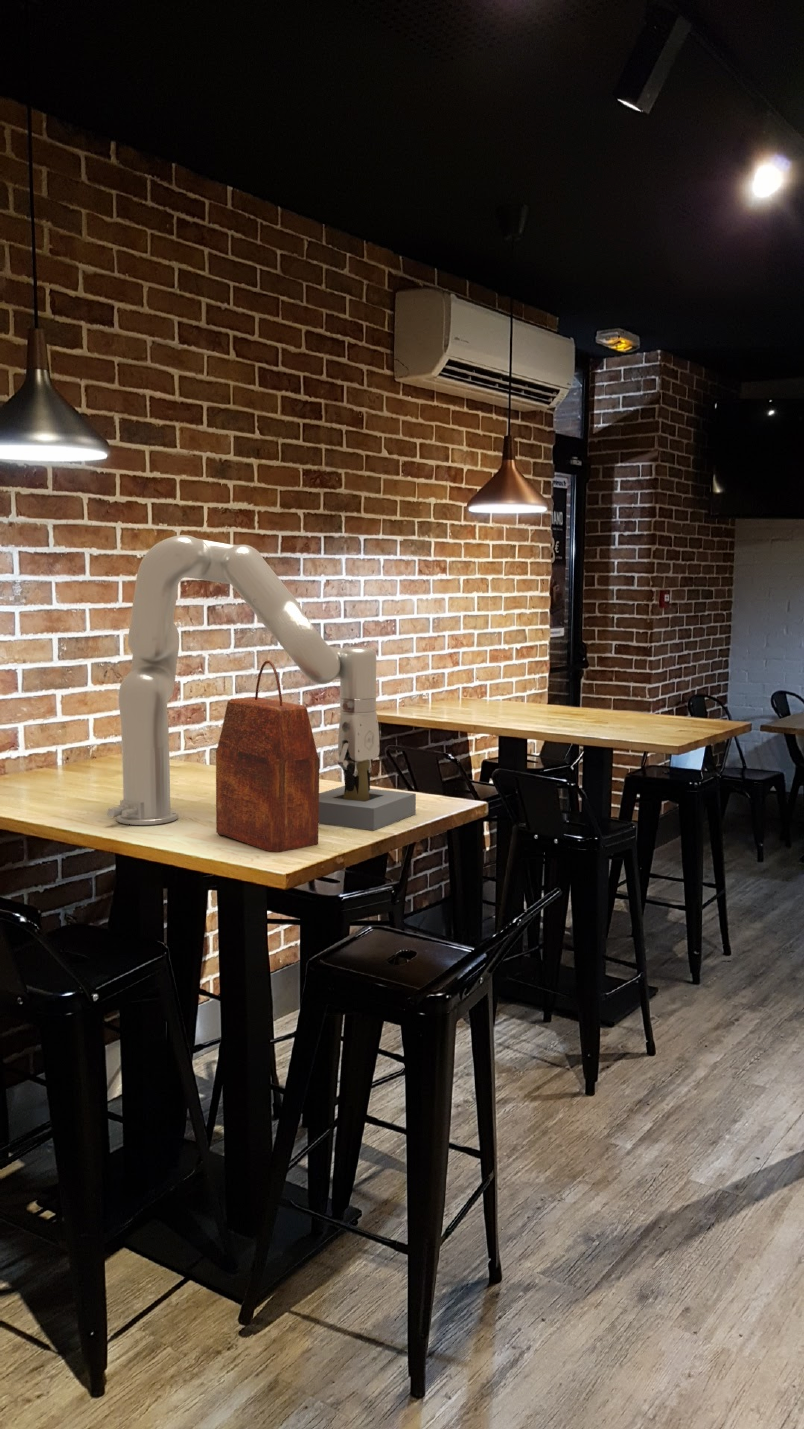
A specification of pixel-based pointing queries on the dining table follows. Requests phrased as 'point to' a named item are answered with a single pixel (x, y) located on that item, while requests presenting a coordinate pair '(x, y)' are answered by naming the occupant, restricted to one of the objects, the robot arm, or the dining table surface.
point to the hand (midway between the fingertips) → (357, 791)
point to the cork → (360, 783)
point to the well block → (365, 808)
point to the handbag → (267, 774)
